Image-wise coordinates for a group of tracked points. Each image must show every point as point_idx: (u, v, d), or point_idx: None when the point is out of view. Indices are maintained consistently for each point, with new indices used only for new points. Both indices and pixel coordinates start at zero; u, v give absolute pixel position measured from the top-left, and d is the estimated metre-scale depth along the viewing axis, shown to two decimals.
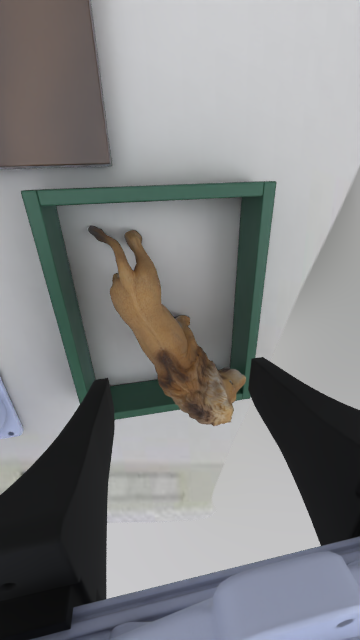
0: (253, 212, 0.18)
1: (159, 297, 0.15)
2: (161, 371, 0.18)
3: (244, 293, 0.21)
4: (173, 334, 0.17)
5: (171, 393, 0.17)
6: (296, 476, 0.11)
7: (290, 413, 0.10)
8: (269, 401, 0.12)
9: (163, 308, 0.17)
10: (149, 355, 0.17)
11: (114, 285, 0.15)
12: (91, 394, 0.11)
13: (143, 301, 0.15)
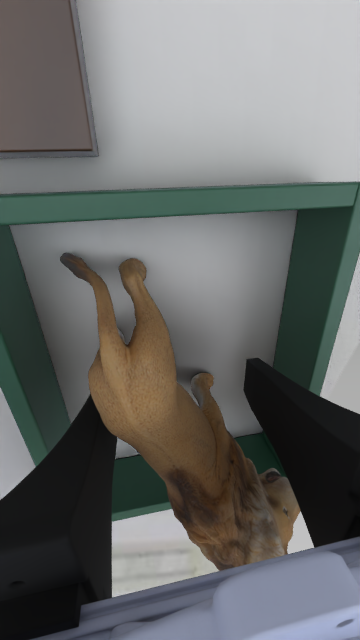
0: (326, 231, 0.11)
1: (173, 395, 0.09)
2: (173, 492, 0.11)
3: (297, 347, 0.14)
4: (195, 442, 0.10)
5: (189, 532, 0.11)
6: (290, 477, 0.10)
7: (284, 414, 0.10)
8: (263, 402, 0.12)
9: (179, 397, 0.10)
10: (154, 469, 0.11)
11: (93, 373, 0.08)
12: None
13: (144, 410, 0.08)
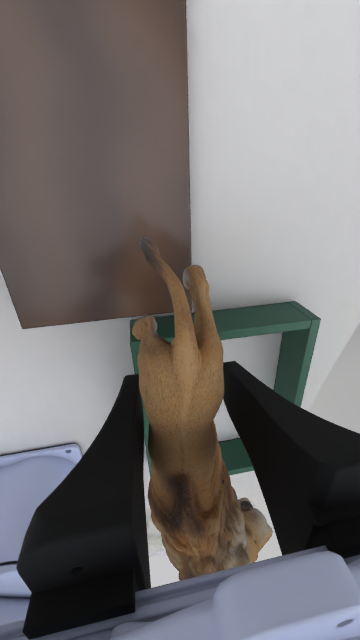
0: (299, 332, 0.22)
1: None
2: (163, 495, 0.11)
3: (286, 385, 0.25)
4: (207, 453, 0.10)
5: (166, 537, 0.11)
6: (261, 483, 0.10)
7: (255, 419, 0.10)
8: (238, 406, 0.12)
9: None
10: (157, 467, 0.11)
11: (158, 360, 0.09)
12: (126, 389, 0.11)
13: (198, 410, 0.08)
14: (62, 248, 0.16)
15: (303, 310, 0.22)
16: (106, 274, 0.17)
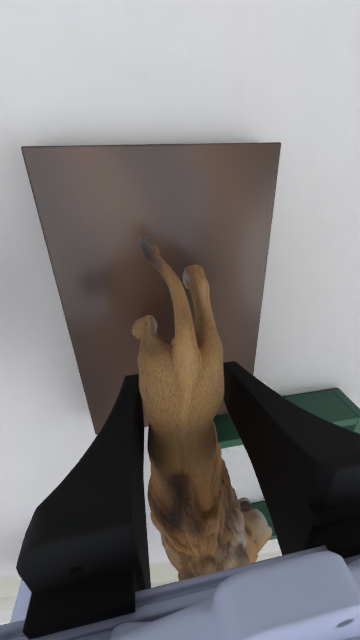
0: None
1: None
2: (163, 494, 0.11)
3: None
4: (207, 453, 0.10)
5: (166, 537, 0.11)
6: (261, 484, 0.10)
7: (255, 419, 0.10)
8: (238, 406, 0.12)
9: None
10: (157, 467, 0.11)
11: (158, 360, 0.09)
12: (126, 389, 0.11)
13: (198, 410, 0.08)
14: None
15: (348, 402, 0.23)
16: None
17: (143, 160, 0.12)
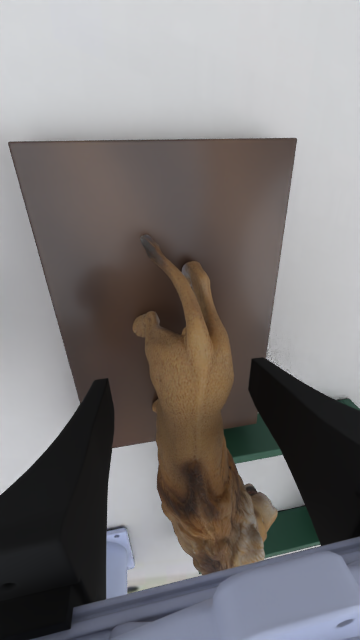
0: None
1: (230, 389, 0.10)
2: (175, 484, 0.11)
3: None
4: (217, 439, 0.11)
5: (181, 525, 0.11)
6: (296, 476, 0.11)
7: (290, 413, 0.10)
8: (269, 401, 0.12)
9: None
10: (168, 457, 0.11)
11: (171, 349, 0.09)
12: (91, 394, 0.11)
13: (213, 394, 0.09)
14: (142, 385, 0.16)
15: None
16: None
17: (144, 157, 0.11)
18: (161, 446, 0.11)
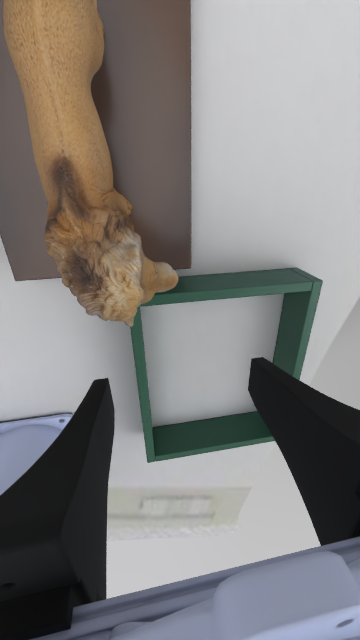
0: (300, 297, 0.22)
1: (88, 44, 0.09)
2: (51, 202, 0.11)
3: (286, 355, 0.25)
4: (92, 144, 0.10)
5: (53, 239, 0.10)
6: (296, 476, 0.11)
7: (290, 413, 0.10)
8: (269, 401, 0.12)
9: (92, 100, 0.10)
10: (41, 165, 0.10)
11: None
12: (91, 394, 0.11)
13: (53, 13, 0.08)
14: None
15: (305, 274, 0.21)
16: None
17: None
18: (35, 160, 0.10)
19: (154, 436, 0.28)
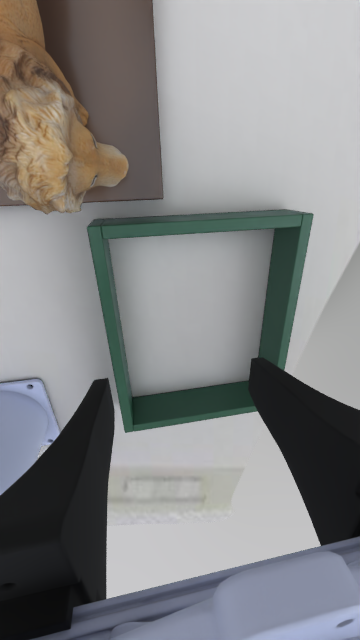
0: (289, 239, 0.19)
1: None
2: None
3: (275, 311, 0.22)
4: None
5: None
6: (296, 476, 0.11)
7: (290, 413, 0.10)
8: (269, 401, 0.12)
9: None
10: None
11: None
12: (91, 394, 0.11)
13: None
14: None
15: (294, 211, 0.19)
16: None
17: None
18: None
19: (134, 406, 0.25)
